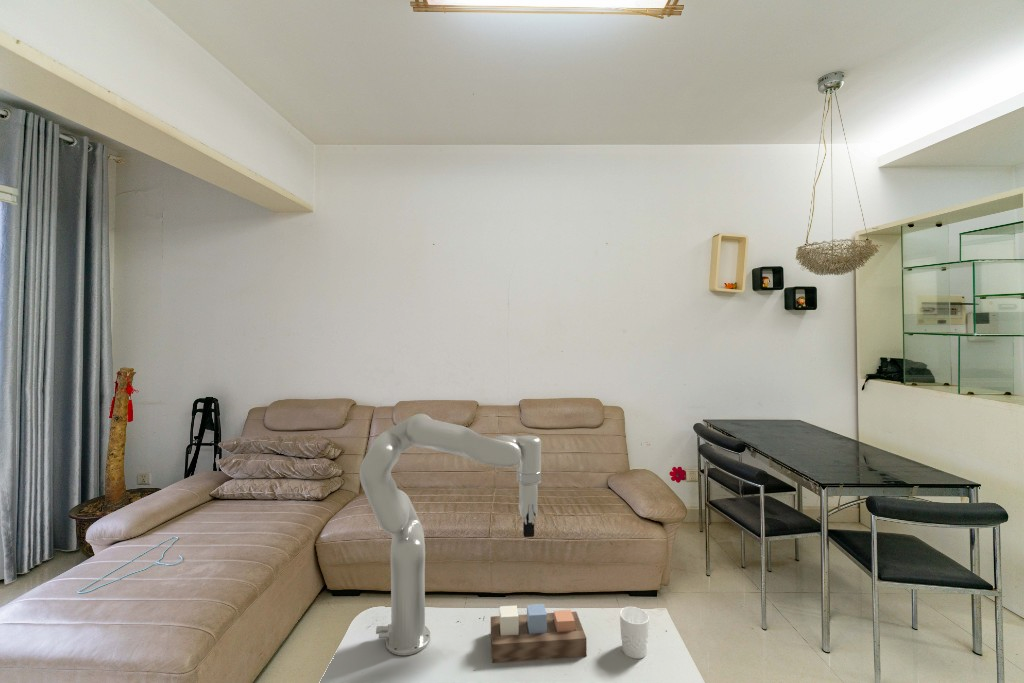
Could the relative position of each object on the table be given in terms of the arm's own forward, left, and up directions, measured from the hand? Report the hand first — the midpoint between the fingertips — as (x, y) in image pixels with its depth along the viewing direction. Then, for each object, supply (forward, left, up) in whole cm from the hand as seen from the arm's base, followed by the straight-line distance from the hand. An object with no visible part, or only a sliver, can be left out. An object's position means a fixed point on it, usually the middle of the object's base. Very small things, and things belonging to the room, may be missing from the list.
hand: (528, 535), depth 135 cm
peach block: (+9, -10, -25) cm, 28 cm away
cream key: (-7, -10, -23) cm, 26 cm away
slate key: (+1, -10, -23) cm, 25 cm away
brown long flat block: (+1, -10, -27) cm, 29 cm away
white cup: (+28, -15, -27) cm, 42 cm away
